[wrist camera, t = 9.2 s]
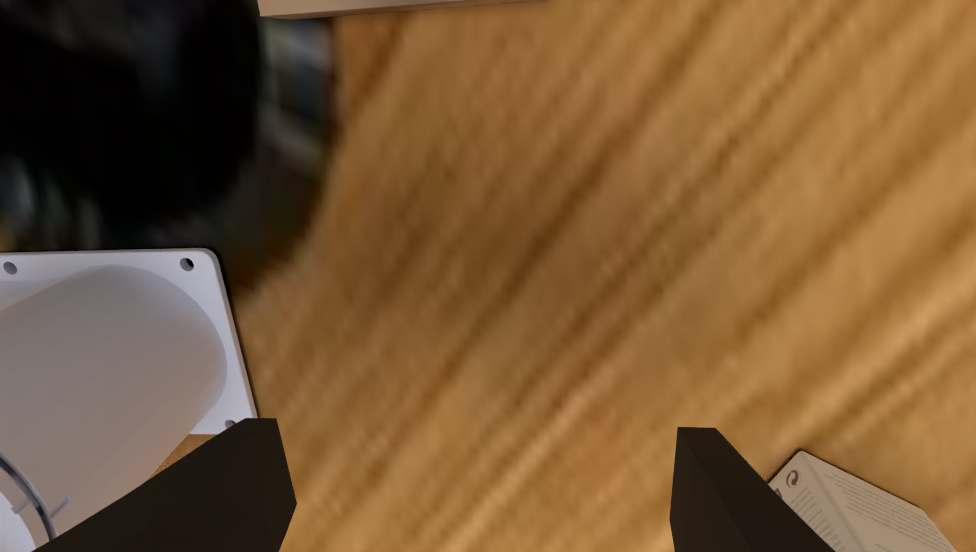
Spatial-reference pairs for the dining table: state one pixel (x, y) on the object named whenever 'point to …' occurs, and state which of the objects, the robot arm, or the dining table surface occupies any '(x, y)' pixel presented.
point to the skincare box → (854, 510)
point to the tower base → (357, 7)
